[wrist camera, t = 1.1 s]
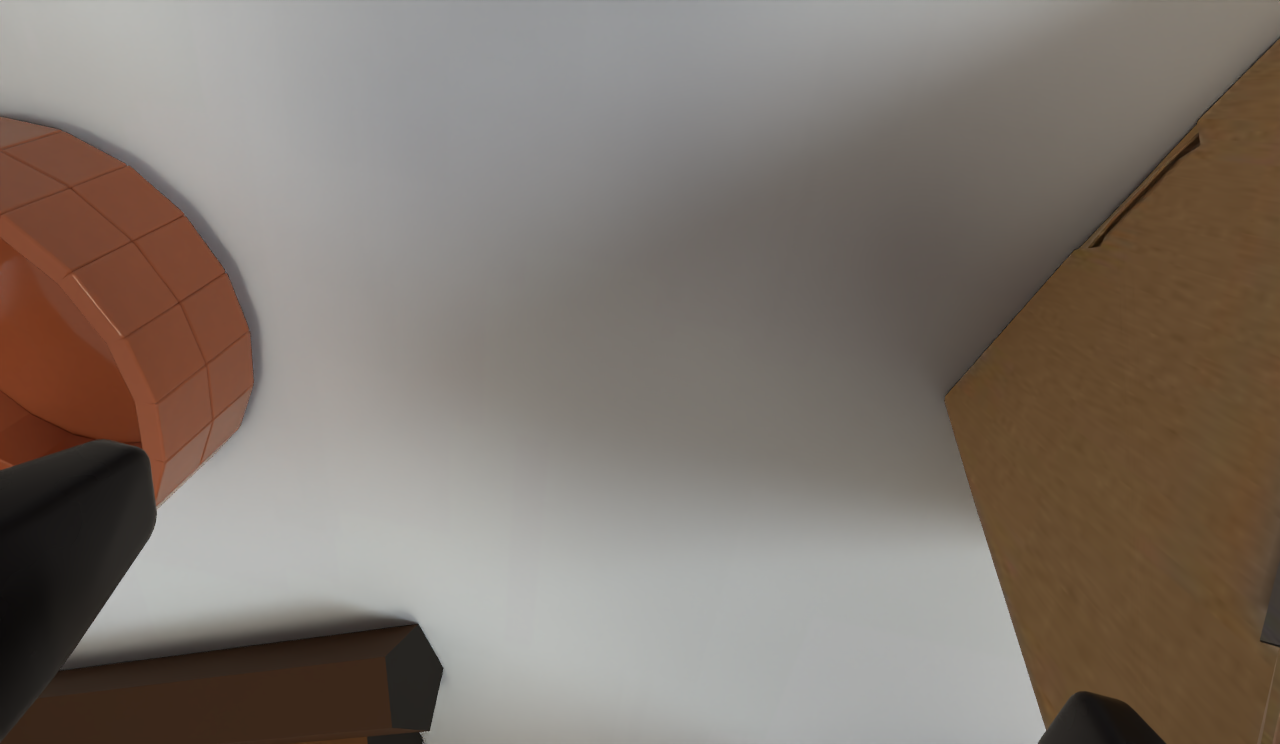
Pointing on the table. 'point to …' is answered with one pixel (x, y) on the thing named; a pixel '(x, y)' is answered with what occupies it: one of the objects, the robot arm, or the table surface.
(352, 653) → the pan flute
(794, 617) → the table surface
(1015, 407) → the sandwich container
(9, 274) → the flower pot
